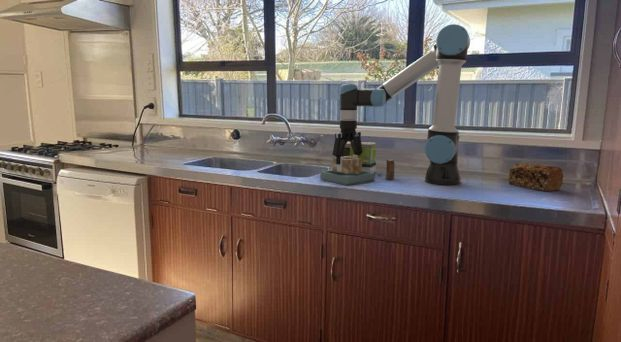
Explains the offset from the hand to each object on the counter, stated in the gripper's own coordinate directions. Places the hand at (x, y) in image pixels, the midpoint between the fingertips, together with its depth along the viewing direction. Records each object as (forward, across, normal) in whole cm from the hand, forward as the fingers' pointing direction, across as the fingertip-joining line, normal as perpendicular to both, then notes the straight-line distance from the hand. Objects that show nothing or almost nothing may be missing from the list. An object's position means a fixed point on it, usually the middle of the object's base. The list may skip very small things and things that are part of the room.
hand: (347, 170), depth 202 cm
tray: (+4, 0, 0) cm, 4 cm away
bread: (+5, -51, +60) cm, 79 cm away
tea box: (+5, -18, -11) cm, 22 cm away
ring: (0, 0, +1) cm, 1 cm away
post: (+4, -18, +10) cm, 21 cm away
